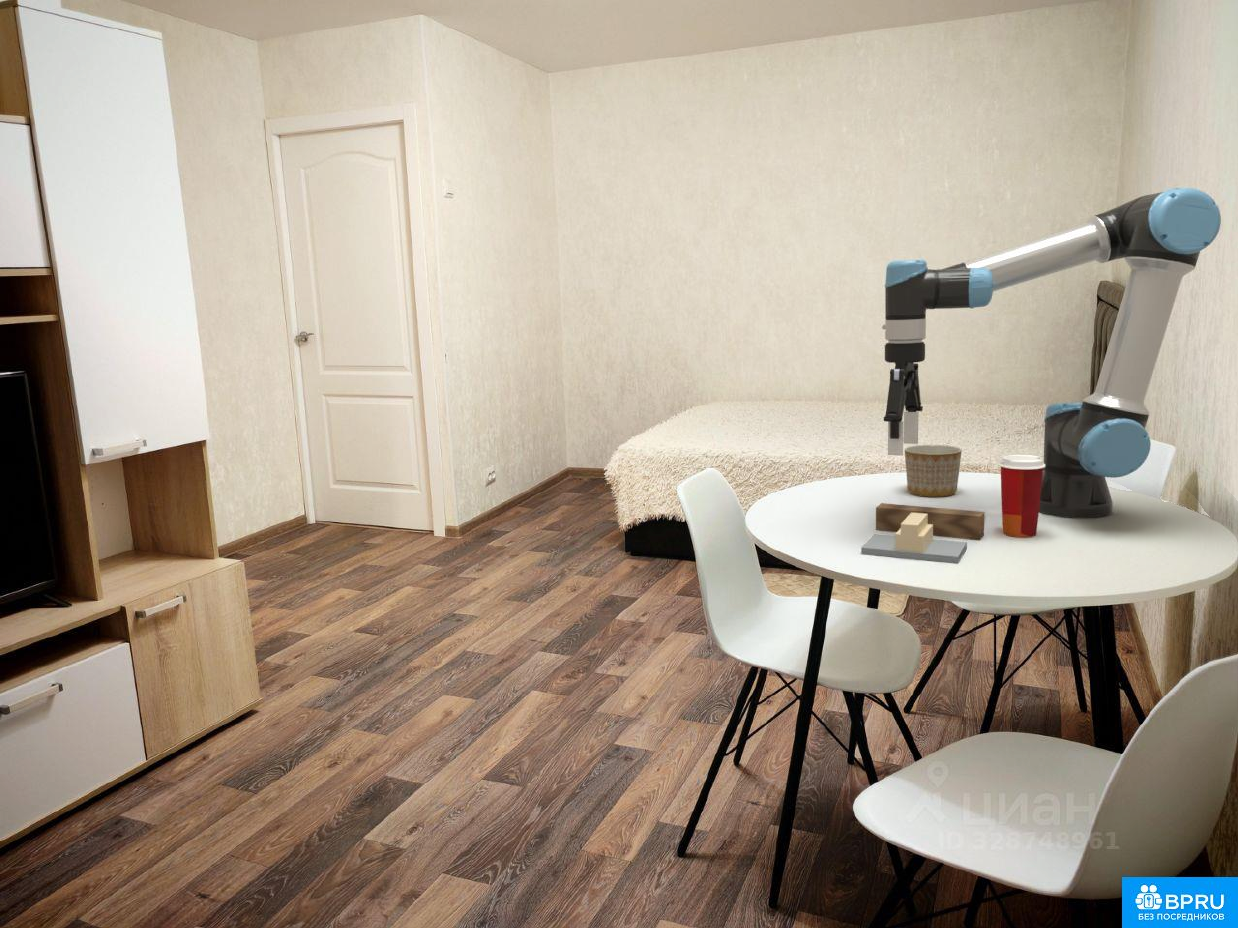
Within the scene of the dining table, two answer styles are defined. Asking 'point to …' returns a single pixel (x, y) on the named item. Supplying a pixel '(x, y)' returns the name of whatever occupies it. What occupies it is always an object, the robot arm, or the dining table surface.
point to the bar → (933, 520)
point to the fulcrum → (915, 543)
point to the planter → (932, 469)
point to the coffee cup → (1020, 494)
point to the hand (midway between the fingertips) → (903, 449)
